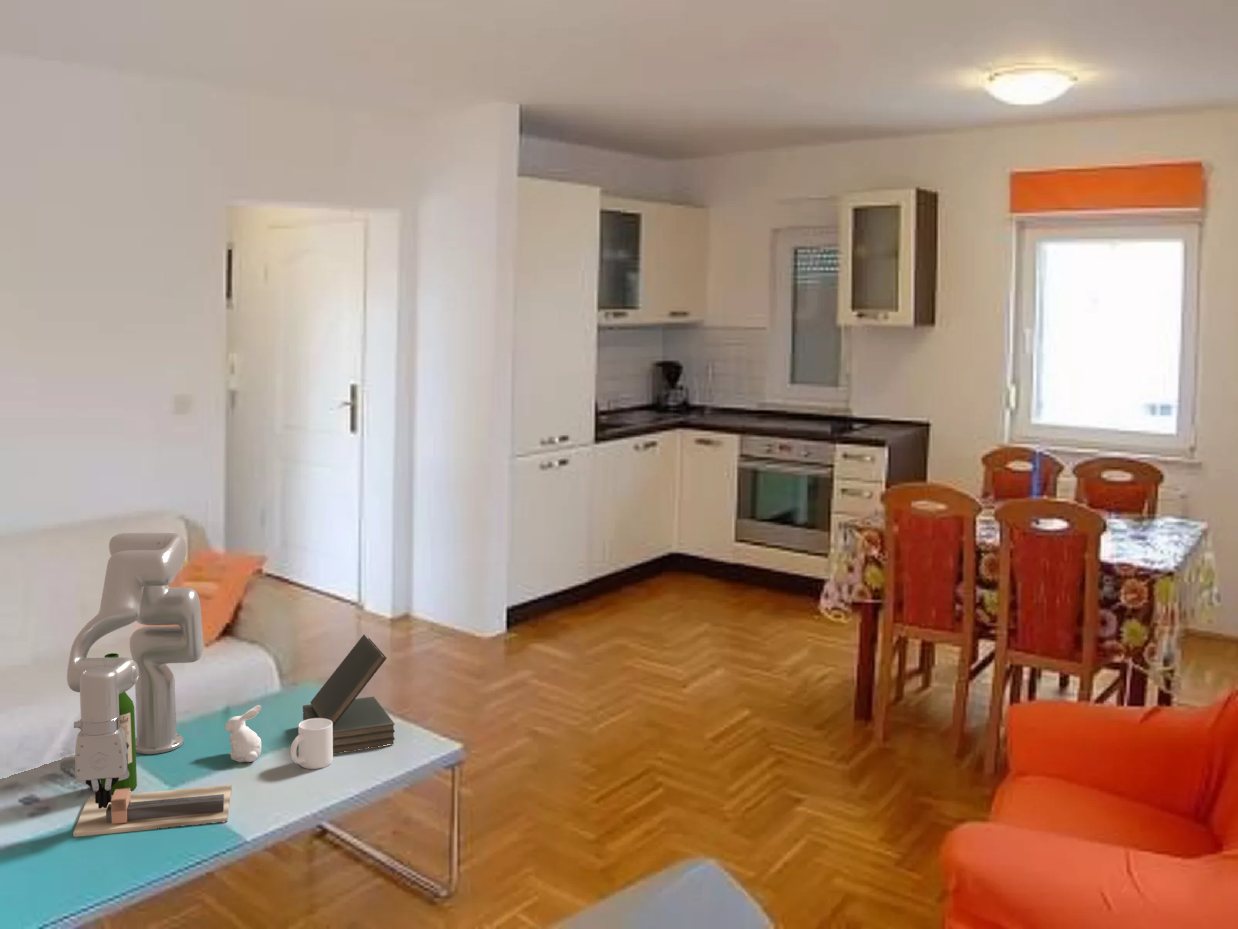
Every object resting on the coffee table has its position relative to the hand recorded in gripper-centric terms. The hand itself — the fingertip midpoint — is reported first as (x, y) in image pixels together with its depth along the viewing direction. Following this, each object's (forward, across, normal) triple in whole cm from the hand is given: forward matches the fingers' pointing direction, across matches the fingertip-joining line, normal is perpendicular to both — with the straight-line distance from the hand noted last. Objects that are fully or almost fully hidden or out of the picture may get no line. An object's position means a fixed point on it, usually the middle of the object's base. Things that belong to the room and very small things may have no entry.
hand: (103, 805), depth 241 cm
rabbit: (+4, +27, +33) cm, 43 cm away
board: (+4, +10, +4) cm, 12 cm away
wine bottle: (+4, 0, +19) cm, 20 cm away
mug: (+4, +44, +23) cm, 50 cm away
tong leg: (+3, +13, +1) cm, 13 cm away
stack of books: (+5, +53, +42) cm, 68 cm away
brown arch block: (+3, +3, 0) cm, 5 cm away
